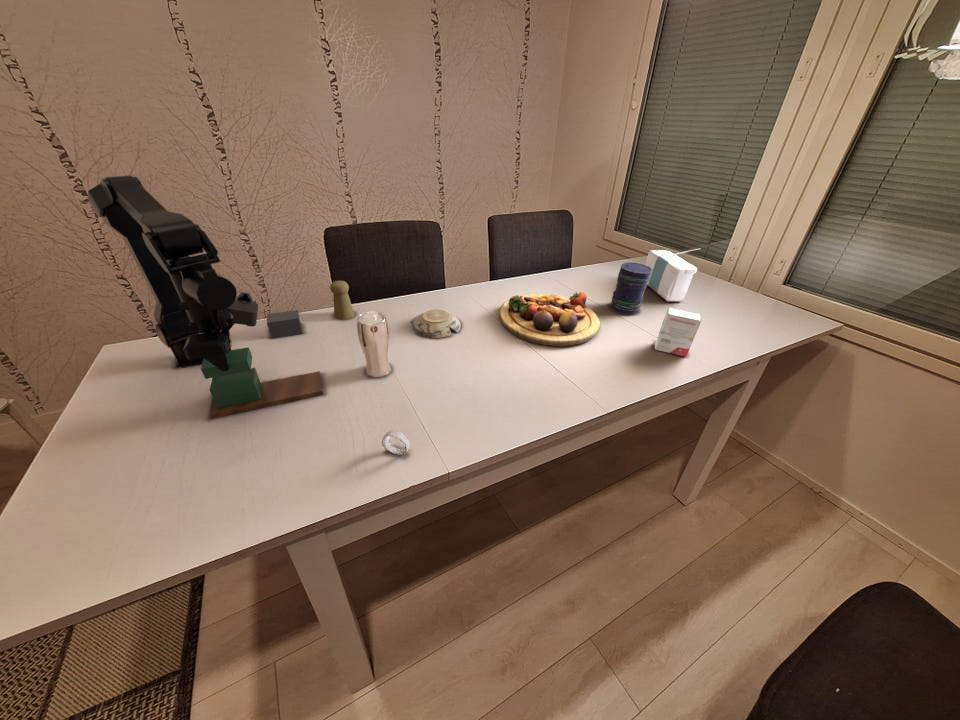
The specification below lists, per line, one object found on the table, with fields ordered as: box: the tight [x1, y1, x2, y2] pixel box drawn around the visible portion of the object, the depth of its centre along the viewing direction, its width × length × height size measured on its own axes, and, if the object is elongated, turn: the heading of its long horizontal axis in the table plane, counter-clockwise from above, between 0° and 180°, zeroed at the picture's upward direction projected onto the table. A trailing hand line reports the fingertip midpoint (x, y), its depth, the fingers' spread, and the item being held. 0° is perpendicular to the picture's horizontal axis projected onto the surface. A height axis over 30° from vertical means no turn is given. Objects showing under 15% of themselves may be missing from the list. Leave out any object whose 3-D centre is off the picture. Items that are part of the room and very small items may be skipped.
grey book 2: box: [268, 319, 304, 339], centre depth 106 cm, size 8×6×2 cm
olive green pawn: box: [329, 280, 355, 321], centre depth 113 cm, size 6×6×11 cm
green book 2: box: [214, 376, 262, 409], centre depth 80 cm, size 8×6×2 cm
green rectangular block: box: [200, 347, 253, 380], centre depth 76 cm, size 8×6×2 cm
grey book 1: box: [266, 309, 301, 332], centre depth 104 cm, size 8×6×2 cm
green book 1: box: [208, 367, 259, 400], centre depth 79 cm, size 8×6×2 cm
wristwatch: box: [381, 430, 411, 456], centre depth 70 cm, size 3×5×5 cm, turn 73°
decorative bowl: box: [412, 308, 461, 339], centre depth 112 cm, size 15×4×15 cm
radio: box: [644, 247, 702, 303], centre depth 138 cm, size 21×8×20 cm, turn 6°
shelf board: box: [208, 370, 324, 419], centre depth 83 cm, size 22×8×1 cm, turn 114°
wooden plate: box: [498, 291, 601, 347], centre depth 117 cm, size 32×32×8 cm
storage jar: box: [609, 262, 652, 316], centre depth 126 cm, size 10×10×15 cm
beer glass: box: [356, 310, 392, 378], centre depth 89 cm, size 7×7×15 cm
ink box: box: [654, 307, 702, 357], centre depth 105 cm, size 9×5×12 cm, turn 65°
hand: (227, 362), depth 76 cm, fingers closed on green rectangular block, 5 cm apart
